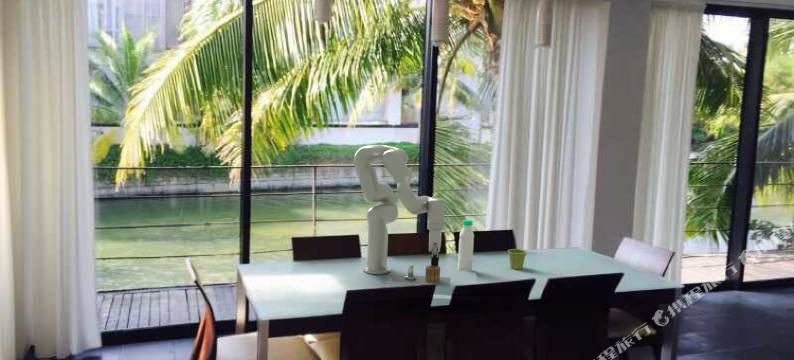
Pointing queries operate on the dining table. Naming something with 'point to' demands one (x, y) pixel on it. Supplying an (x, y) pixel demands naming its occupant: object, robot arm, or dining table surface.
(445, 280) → the post board
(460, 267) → the water bottle
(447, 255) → the dining table surface
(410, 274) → the steel posts
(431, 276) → the sleeve
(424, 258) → the dining table surface
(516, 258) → the plant pot
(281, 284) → the dining table surface
